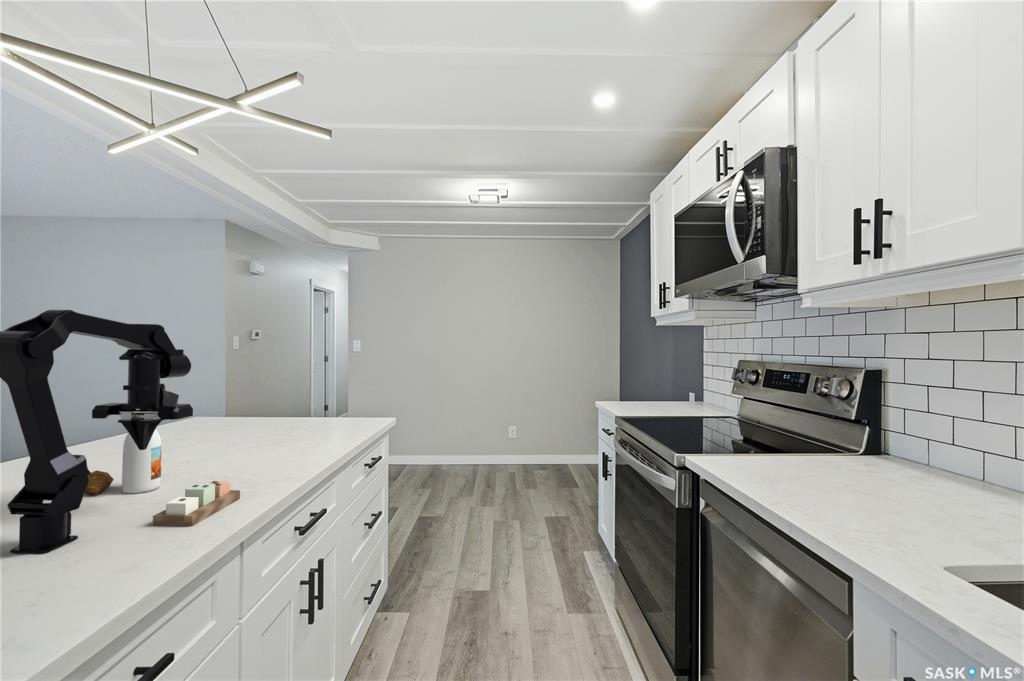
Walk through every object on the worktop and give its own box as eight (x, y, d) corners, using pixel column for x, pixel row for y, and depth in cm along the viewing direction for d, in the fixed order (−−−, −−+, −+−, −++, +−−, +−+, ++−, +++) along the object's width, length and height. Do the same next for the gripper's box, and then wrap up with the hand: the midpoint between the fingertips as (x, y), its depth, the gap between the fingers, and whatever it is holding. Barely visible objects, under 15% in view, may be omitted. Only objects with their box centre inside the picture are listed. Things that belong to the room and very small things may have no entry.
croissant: (80, 486, 122) (81, 466, 122) (115, 481, 126) (115, 462, 126) (73, 500, 111) (74, 479, 111) (111, 495, 115) (112, 474, 115)
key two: (203, 507, 103) (203, 488, 103) (184, 507, 103) (185, 488, 103) (214, 501, 107) (215, 483, 107) (196, 501, 107) (197, 482, 107)
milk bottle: (139, 495, 114) (141, 412, 115) (113, 493, 116) (115, 411, 116) (168, 486, 122) (170, 408, 122) (143, 483, 124) (145, 407, 124)
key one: (185, 523, 97) (185, 502, 97) (165, 522, 97) (166, 502, 97) (198, 516, 101) (198, 496, 101) (179, 515, 101) (179, 496, 101)
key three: (219, 504, 108) (219, 485, 108) (201, 503, 108) (202, 485, 108) (229, 498, 112) (229, 480, 112) (212, 498, 112) (213, 480, 112)
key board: (192, 526, 96) (192, 516, 96) (152, 525, 96) (153, 515, 96) (240, 498, 113) (240, 490, 113) (206, 498, 113) (206, 489, 113)
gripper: (208, 378, 114) (207, 442, 114) (131, 376, 114) (129, 441, 114) (176, 381, 103) (174, 453, 103) (90, 380, 103) (88, 452, 103)
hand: (142, 449), depth 106 cm, fingers closed
